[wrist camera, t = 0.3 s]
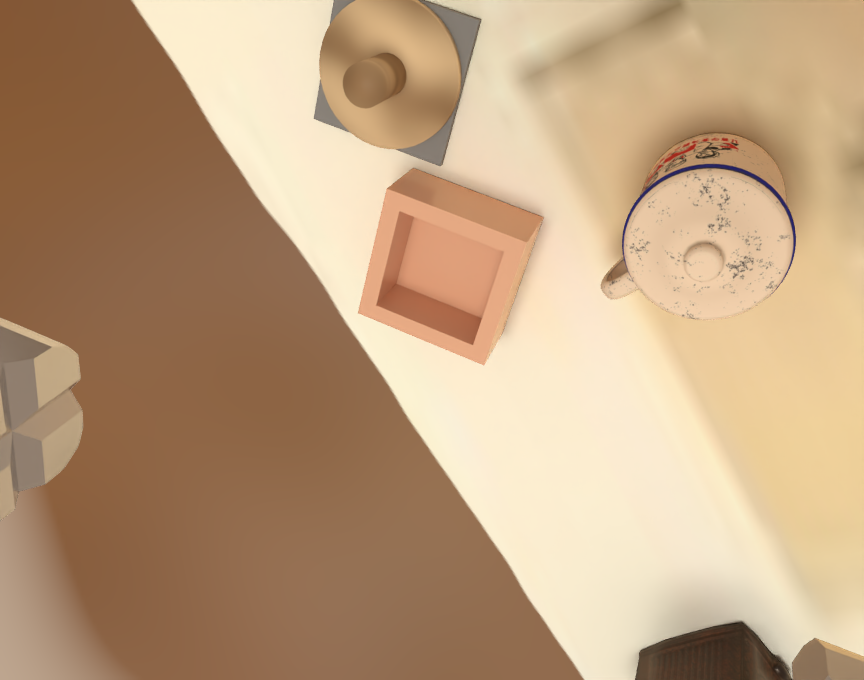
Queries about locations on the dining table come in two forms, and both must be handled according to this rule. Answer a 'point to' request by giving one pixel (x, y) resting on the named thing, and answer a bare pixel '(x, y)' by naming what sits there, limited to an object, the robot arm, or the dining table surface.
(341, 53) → the lid
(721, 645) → the brown wooden box
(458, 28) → the mat
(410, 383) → the dining table surface
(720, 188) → the teacup with lid
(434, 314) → the pink hollow square box
